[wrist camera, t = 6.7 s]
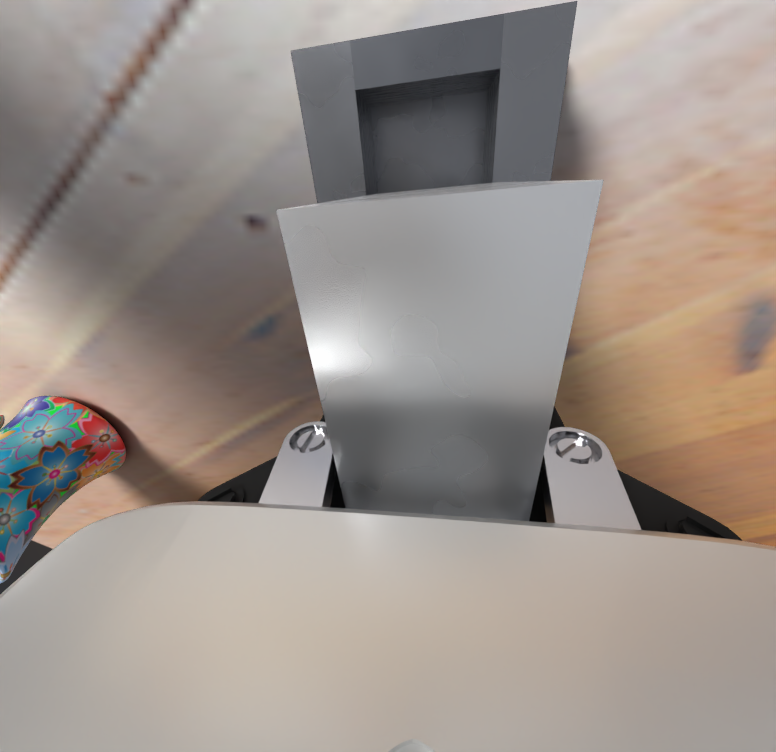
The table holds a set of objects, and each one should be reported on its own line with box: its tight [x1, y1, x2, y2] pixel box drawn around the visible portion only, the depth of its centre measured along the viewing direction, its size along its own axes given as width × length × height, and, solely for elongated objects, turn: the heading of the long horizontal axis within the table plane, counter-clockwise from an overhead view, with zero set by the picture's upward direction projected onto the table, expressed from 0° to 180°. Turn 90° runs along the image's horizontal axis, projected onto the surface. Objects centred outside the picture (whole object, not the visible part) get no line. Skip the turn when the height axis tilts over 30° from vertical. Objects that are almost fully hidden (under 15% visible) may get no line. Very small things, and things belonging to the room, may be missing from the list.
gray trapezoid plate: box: [276, 180, 603, 521], centre depth 9 cm, size 12×4×7 cm, turn 5°
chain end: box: [291, 1, 577, 203], centre depth 14 cm, size 8×10×4 cm
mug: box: [0, 396, 126, 583], centre depth 23 cm, size 12×9×11 cm
